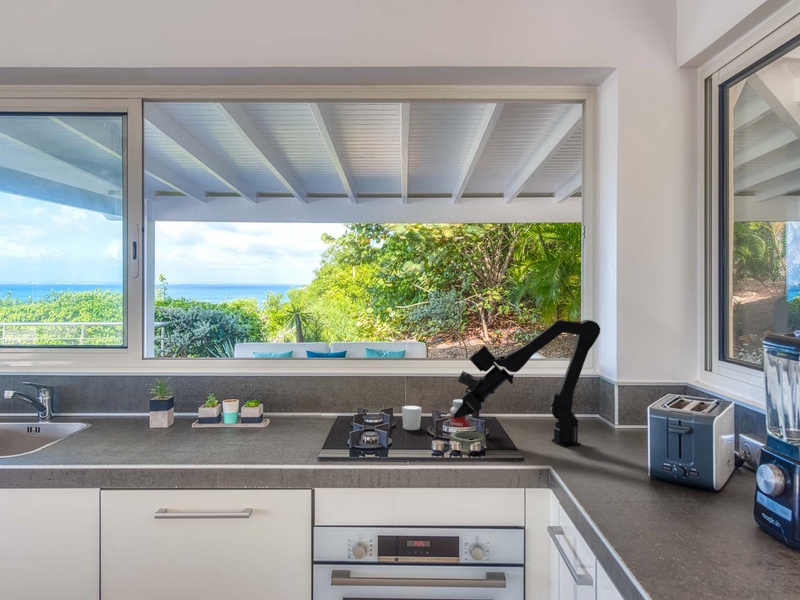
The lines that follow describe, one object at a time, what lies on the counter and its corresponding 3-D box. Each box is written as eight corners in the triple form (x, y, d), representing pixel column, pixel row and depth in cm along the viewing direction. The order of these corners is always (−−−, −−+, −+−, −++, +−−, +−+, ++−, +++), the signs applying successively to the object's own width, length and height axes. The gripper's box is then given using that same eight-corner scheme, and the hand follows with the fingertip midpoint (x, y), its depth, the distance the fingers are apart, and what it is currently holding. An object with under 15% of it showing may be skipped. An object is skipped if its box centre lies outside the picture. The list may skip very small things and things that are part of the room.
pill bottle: (446, 434, 161) (446, 400, 161) (456, 430, 166) (457, 397, 166) (462, 438, 157) (463, 403, 157) (472, 434, 162) (473, 400, 162)
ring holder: (474, 440, 155) (475, 429, 155) (493, 451, 145) (493, 439, 145) (442, 443, 151) (443, 432, 151) (459, 454, 141) (460, 442, 141)
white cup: (419, 431, 165) (420, 410, 165) (399, 429, 166) (399, 408, 166) (422, 425, 171) (423, 405, 171) (403, 424, 173) (403, 404, 173)
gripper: (474, 360, 170) (442, 390, 172) (471, 367, 151) (434, 401, 154) (497, 384, 168) (464, 414, 171) (496, 395, 150) (459, 428, 152)
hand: (455, 414), depth 162 cm, fingers open, 9 cm apart
